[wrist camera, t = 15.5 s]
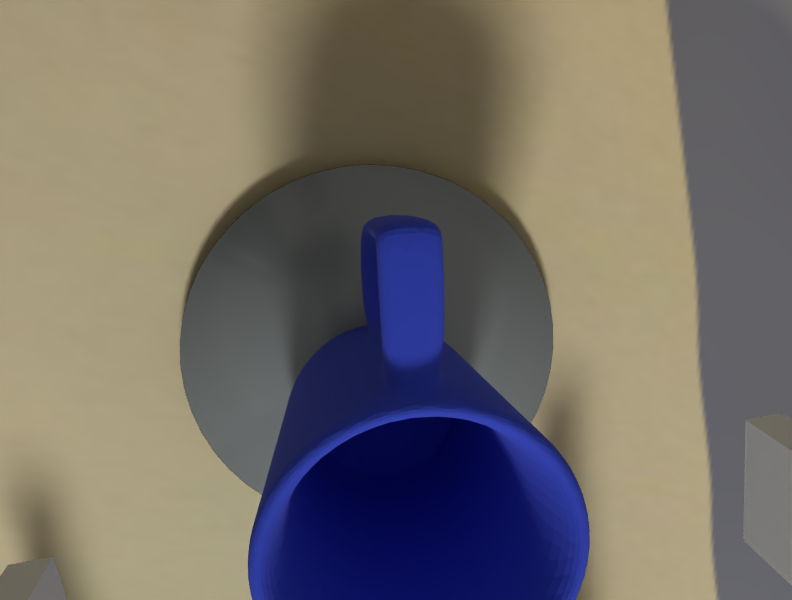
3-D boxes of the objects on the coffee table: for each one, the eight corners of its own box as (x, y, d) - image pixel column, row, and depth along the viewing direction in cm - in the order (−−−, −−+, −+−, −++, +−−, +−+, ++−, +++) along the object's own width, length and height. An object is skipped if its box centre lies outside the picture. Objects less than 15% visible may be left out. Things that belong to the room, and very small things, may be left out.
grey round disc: (143, 195, 23) (139, 197, 22) (532, 139, 24) (538, 139, 23) (224, 544, 26) (223, 553, 26) (560, 478, 28) (565, 486, 27)
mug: (485, 185, 24) (608, 218, 14) (485, 487, 26) (585, 686, 17) (253, 195, 23) (212, 237, 13) (279, 507, 26) (262, 731, 16)
